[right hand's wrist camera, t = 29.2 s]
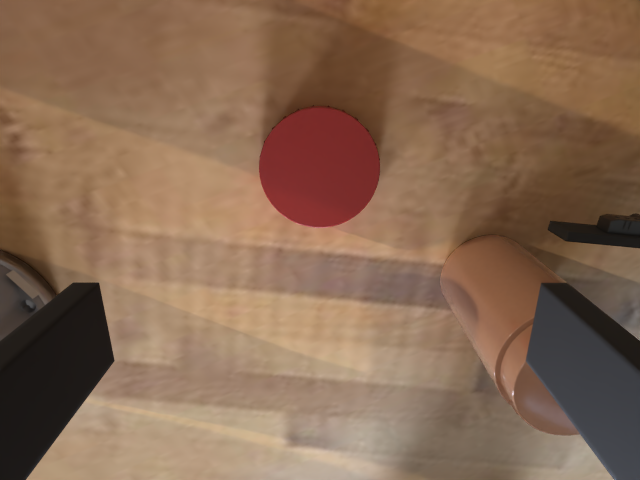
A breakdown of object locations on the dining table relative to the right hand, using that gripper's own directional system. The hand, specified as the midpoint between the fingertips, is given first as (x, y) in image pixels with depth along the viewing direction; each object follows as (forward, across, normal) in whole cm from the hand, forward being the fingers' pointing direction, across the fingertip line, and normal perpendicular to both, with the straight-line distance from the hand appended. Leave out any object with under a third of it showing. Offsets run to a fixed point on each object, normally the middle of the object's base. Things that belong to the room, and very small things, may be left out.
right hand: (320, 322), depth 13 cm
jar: (+26, +16, -11) cm, 33 cm away
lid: (+24, 0, 0) cm, 24 cm away
